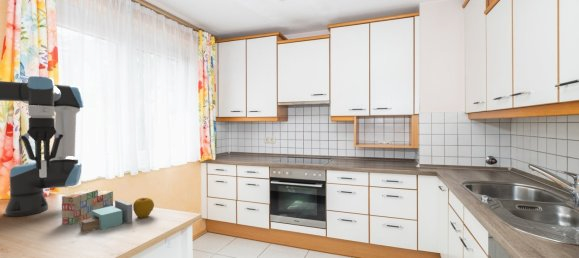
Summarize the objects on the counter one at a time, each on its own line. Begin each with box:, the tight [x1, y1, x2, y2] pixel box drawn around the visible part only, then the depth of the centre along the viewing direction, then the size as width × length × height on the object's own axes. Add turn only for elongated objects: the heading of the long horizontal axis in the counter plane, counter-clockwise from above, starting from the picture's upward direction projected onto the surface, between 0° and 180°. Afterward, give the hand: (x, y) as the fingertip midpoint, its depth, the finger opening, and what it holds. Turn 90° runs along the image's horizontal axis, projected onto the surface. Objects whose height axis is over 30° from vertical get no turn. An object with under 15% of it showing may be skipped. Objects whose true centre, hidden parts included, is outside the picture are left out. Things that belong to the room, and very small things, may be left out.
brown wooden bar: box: [80, 217, 100, 233], centre depth 116 cm, size 4×10×4 cm, turn 144°
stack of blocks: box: [61, 188, 114, 225], centre depth 130 cm, size 21×6×12 cm, turn 171°
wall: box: [114, 199, 133, 224], centre depth 125 cm, size 12×2×8 cm, turn 55°
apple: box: [132, 197, 155, 219], centre depth 130 cm, size 8×8×9 cm
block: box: [91, 205, 123, 230], centre depth 120 cm, size 10×8×6 cm
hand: (43, 176), depth 109 cm, fingers closed
